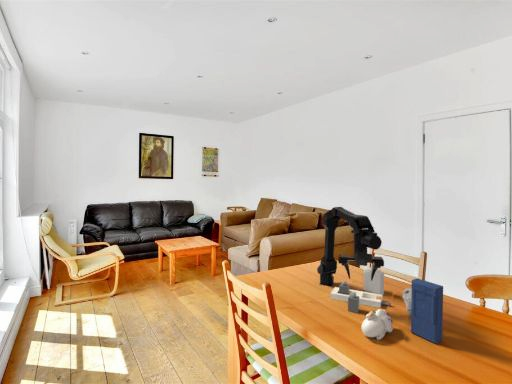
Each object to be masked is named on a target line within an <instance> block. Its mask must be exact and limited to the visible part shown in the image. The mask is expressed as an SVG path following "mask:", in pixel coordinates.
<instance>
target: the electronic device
mask: <svg viewBox="0 0 512 384" xmlns="http://www.w3.org/2000/svg"><path fill="white" fill-rule="evenodd" d="M411 289H412V297H411V316H410V332H411V333H412V334H415V335H416V336H418V337H421V338H423V339H425V340H427V341H429V342H431V343H434V344H436V345H438V344H439V343H441V342H443V324H444V323H443V319H444V318H443V317H444V286H443V285H440V284H438V283H435V282H431V281H427V280H424V279H420V278H414V279H412V280H411Z"/></svg>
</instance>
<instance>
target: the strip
mask: <svg viewBox="0 0 512 384" xmlns="http://www.w3.org/2000/svg"><path fill="white" fill-rule="evenodd" d="M352 293H356V296H359V305H360V306H361V305H362V306H367V307H371V308H378V309H382V305H383V306H390V307H392V302H386V301H383V295H380V294H375V293H372V292H369V291H362V290H357V289H350V291H349V295H345V294H339V286H338V287H337V286H335V287H333V289H332V291H331V292H330V300H335V301H339V302H340V301H341V302H346V303H348V297H349V296H350V295H352Z"/></svg>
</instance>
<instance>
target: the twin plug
mask: <svg viewBox="0 0 512 384" xmlns="http://www.w3.org/2000/svg"><path fill="white" fill-rule="evenodd" d="M338 287H339V294H345V295H349V291H350V287H351V286H350V284H349V283H347V281H344V280H343V281H342V282H340V284H339V285H338Z"/></svg>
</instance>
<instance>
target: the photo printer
mask: <svg viewBox="0 0 512 384" xmlns="http://www.w3.org/2000/svg"><path fill="white" fill-rule="evenodd" d="M371 271H372V267H365V268H364V269H363V274H362V275H363V279H362V280H363V281H362V283H363V290H364V291H365V292H368V293H374V294H380V295H382V296H383V295H385V273H384V271H382V270H380V269H379V268H378V269H377V270H376V272H375V274H374V277H373V280H371Z"/></svg>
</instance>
